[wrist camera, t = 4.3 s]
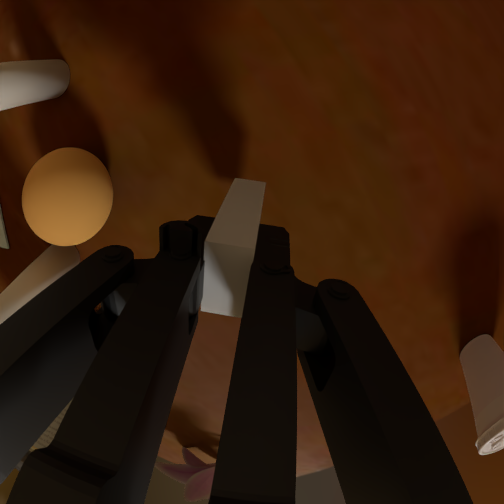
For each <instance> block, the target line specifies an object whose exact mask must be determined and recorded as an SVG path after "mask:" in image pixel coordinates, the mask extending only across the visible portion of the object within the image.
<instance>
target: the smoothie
mask: <svg viewBox="0 0 504 504" xmlns="http://www.w3.org/2000/svg"><path fill="white" fill-rule="evenodd" d="M460 361H461V365H462V368H463V372H464V375H465V379H466V383H467V387H468V391H469V395H470V400H471V404H472V408H473V413H474V418H475V424H476V429H477V433H478V439H477V441H476V444H475V445H476V446H477V448H478V452H479V454H481V455H487V454H491V453H494V452H496V451H499V450H500V449H503V448H504V352H503V351H502V350H501V348H500V347H499V346H498V344H497V343H496V342H495V341H494V339H493V338H492V337H491V336H490V335H488V334H484V335H480V336H478V337H476V338H474V339H473V340H471V341H470V342H469V343H468V344H467V345H466V346H465V347H464V348H463V350H462V351H461V353H460Z"/></svg>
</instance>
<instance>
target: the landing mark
mask: <svg viewBox="0 0 504 504" xmlns="http://www.w3.org/2000/svg"><path fill="white" fill-rule="evenodd" d="M0 247H2V248H6V249H9V248H10V247H9V243H8V239H7V235H6V231H5V226H4V221H3V216H2V211H1V206H0Z"/></svg>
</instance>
